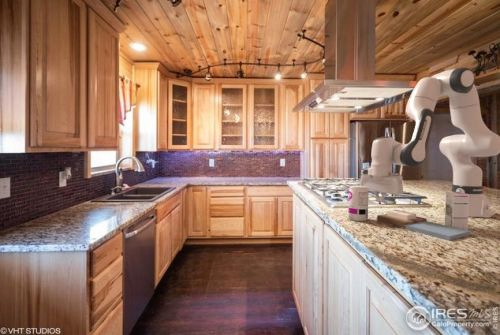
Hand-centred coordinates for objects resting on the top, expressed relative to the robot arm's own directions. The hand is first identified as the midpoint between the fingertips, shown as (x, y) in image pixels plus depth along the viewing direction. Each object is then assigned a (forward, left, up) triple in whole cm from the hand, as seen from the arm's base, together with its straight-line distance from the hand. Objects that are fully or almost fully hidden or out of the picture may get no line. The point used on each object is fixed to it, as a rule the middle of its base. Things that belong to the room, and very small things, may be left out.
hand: (379, 201), depth 126 cm
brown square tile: (-1, +10, -7) cm, 13 cm away
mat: (-1, +25, -7) cm, 26 cm away
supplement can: (+11, -2, -8) cm, 14 cm away
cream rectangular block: (-1, +10, -5) cm, 12 cm away
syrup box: (-12, +26, -8) cm, 29 cm away
